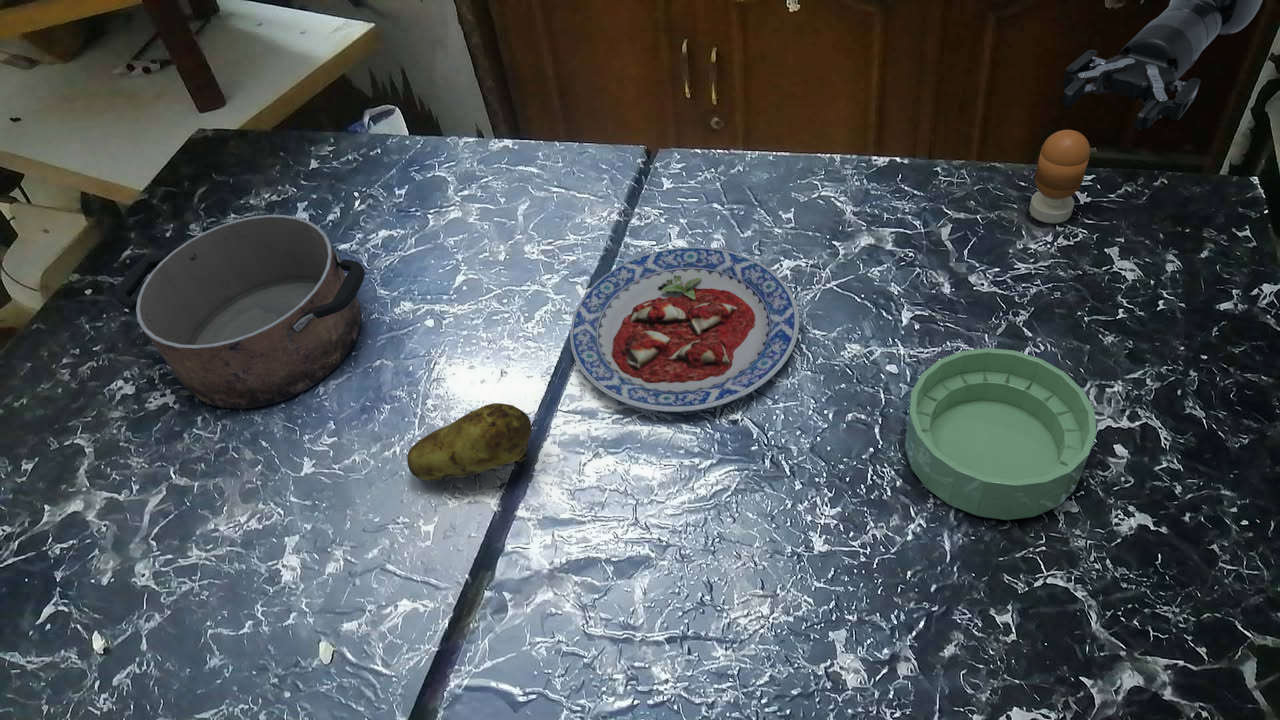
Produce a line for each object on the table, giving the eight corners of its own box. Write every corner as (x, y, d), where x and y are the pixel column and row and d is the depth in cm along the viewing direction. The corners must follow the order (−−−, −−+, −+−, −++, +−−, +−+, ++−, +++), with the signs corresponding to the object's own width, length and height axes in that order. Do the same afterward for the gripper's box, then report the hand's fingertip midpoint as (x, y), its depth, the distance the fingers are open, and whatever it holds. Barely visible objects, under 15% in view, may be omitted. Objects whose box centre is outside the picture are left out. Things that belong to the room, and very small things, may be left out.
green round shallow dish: (1044, 379, 95) (1057, 338, 91) (1109, 511, 84) (1126, 472, 80) (887, 398, 96) (891, 359, 92) (930, 532, 85) (937, 494, 81)
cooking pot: (416, 282, 118) (390, 216, 110) (351, 419, 103) (315, 353, 95) (208, 276, 124) (168, 213, 116) (118, 404, 109) (66, 341, 101)
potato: (439, 426, 101) (417, 378, 95) (549, 442, 98) (534, 393, 92) (407, 488, 96) (382, 441, 90) (523, 508, 92) (504, 460, 86)
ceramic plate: (777, 439, 94) (776, 421, 92) (542, 405, 101) (536, 387, 99) (815, 270, 110) (815, 251, 108) (610, 251, 117) (607, 233, 115)
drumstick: (1063, 195, 114) (1084, 117, 106) (1080, 221, 111) (1102, 143, 103) (1021, 200, 114) (1038, 124, 106) (1036, 227, 111) (1055, 150, 103)
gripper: (1113, 9, 118) (1050, 67, 111) (1232, 38, 110) (1173, 102, 103) (1099, 63, 123) (1038, 121, 116) (1211, 94, 116) (1153, 158, 109)
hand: (1102, 112), depth 110 cm, fingers open, 8 cm apart
